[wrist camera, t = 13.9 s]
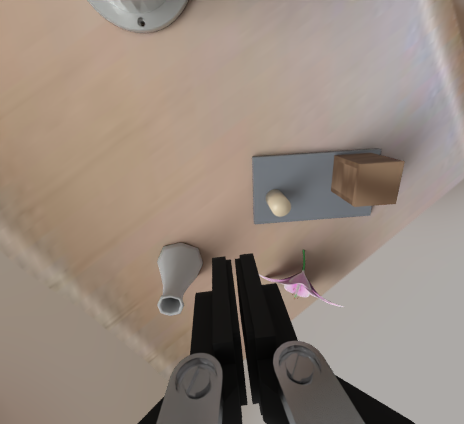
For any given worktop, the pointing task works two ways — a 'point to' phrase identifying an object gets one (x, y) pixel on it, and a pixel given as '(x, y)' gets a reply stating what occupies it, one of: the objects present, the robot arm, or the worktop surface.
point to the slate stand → (299, 188)
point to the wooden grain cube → (366, 179)
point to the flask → (177, 275)
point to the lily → (299, 285)
